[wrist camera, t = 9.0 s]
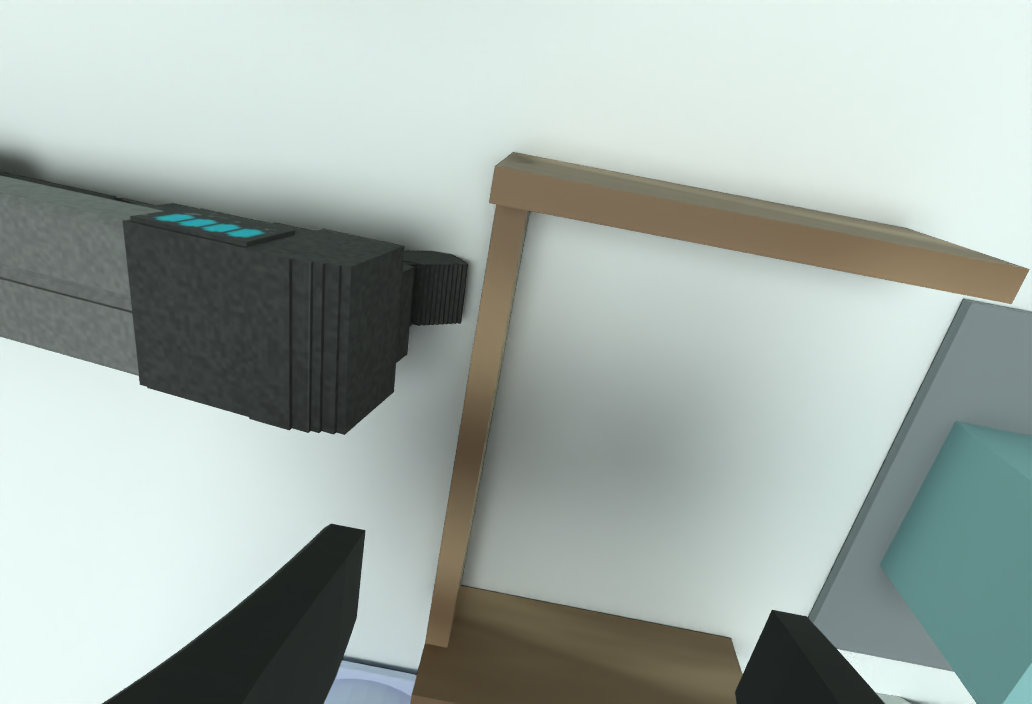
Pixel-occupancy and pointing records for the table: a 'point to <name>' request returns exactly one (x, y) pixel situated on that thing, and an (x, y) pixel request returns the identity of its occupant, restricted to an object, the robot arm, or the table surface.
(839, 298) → the table surface
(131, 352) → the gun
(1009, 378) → the mat
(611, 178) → the frame
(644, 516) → the table surface
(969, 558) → the block
